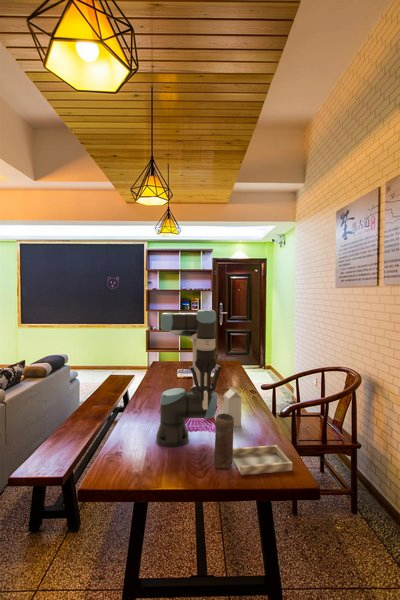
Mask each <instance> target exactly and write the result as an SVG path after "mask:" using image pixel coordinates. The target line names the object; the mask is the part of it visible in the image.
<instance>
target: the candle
mask: <svg viewBox="0 0 400 600" xmlns="http://www.w3.org/2000/svg"><path fill="white" fill-rule="evenodd" d="M234 428H235V427H234V418H233V417H232V416H231V415H229V414H224V412H223V413H220V414H217V415H216V417H215V430H214V431H215V433H214V434H215V435H214V436H215V437H214V453H213V454H214V457H213V459H214V460H213V466H215V467H216V468H218V469H230V468H231V467H232V466H233V448H234Z"/></svg>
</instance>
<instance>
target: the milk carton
mask: <svg viewBox="0 0 400 600" xmlns="http://www.w3.org/2000/svg"><path fill="white" fill-rule="evenodd" d="M239 394H240V392H239V391H238V390H236V389H235V388H233V387H231V386H230V387H229V390H227V391H226V392H225V393H224V394H223V397H224V398H223V413H224V414H229V415H231V416H232V417H233V418H234V427H233V428H235V427H241V426H242V397H241V396H240V395H239Z"/></svg>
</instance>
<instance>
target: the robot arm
mask: <svg viewBox="0 0 400 600" xmlns="http://www.w3.org/2000/svg"><path fill="white" fill-rule="evenodd" d="M216 325H217V313H216V311H215V310H214V309H198V310H197V311H196V312H186V313H185V312H162V313H161V315H160V329H161V330H162V331H167V332H170V334H172V335H175V336H179V337H188V338H189V340H190V342H192V366H189V370H190V372H191V373H192V386H191V387H190V388H189V392H186V389H185V388H181V387H174V388H170V389H167V390H164V391H163V392H162V393H161V395H160V401H159V405H160V416H159V417H160V419H159V422H160V424H159V427H158V429H157V432H156V436H155V440H156V443H157V444H158V445H160V446H163V447H168V448H176V447H177V448H178V447H181V446H184V445H185V444H187V443H188V442H189V439H190V438H189V431H188V428H187V425H186V419H205V420H206V419H212V418H214V417H215V416H216V411H217V403H218V393H217V392H216V391H215V390H216V387H217V384H218V379H219V375H220V372H221V371H222V370H223V367H222V366H221V365H219V364H217V361H216V350H215V349H216V329H217V327H216ZM213 370H214V373H213V378H212V372H213ZM211 380H212V382H211Z"/></svg>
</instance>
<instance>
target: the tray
mask: <svg viewBox="0 0 400 600" xmlns="http://www.w3.org/2000/svg"><path fill="white" fill-rule="evenodd" d="M232 462H233V463H234V465H235V467H236V469H237V471H238V473H239V474H240V476H248V475H249V476H250V475H259V474H268V473H269V474H271V473H279V472H291V471H293V462H292V461H291V459H290V458H289V457H288V456H287V455H286V454H285V453H284V451H282V449H281V448H280V447H279V446H278V445H277V444H273V445H272V444H271V445H258V446H246V447H233V460H232Z"/></svg>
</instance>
